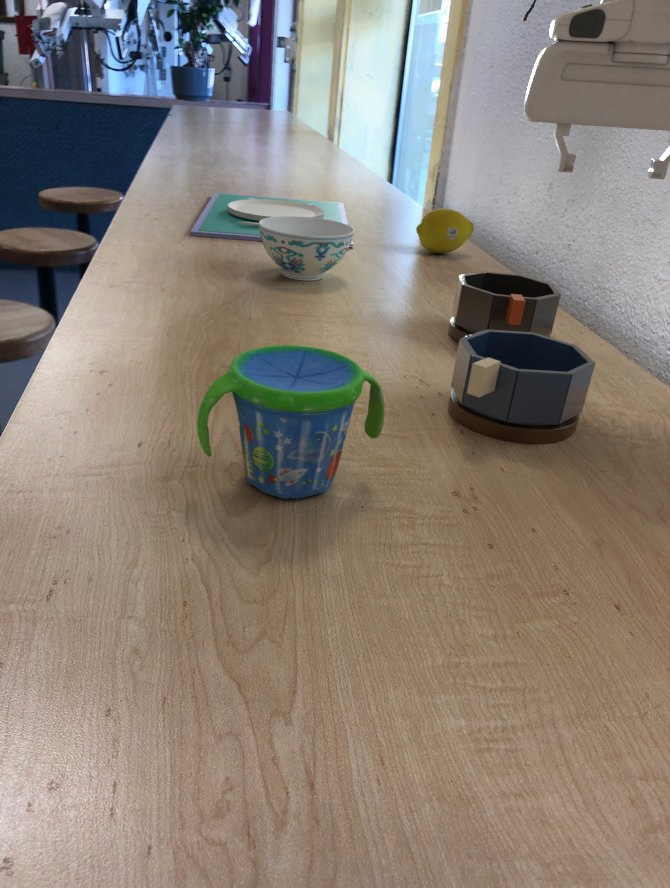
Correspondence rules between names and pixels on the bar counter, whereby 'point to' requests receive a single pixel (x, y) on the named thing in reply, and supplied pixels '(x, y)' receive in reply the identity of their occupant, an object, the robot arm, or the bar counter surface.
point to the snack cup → (293, 415)
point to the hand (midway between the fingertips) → (609, 175)
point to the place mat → (257, 214)
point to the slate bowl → (521, 377)
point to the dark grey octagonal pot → (504, 303)
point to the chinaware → (305, 244)
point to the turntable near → (510, 426)
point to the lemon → (444, 230)
